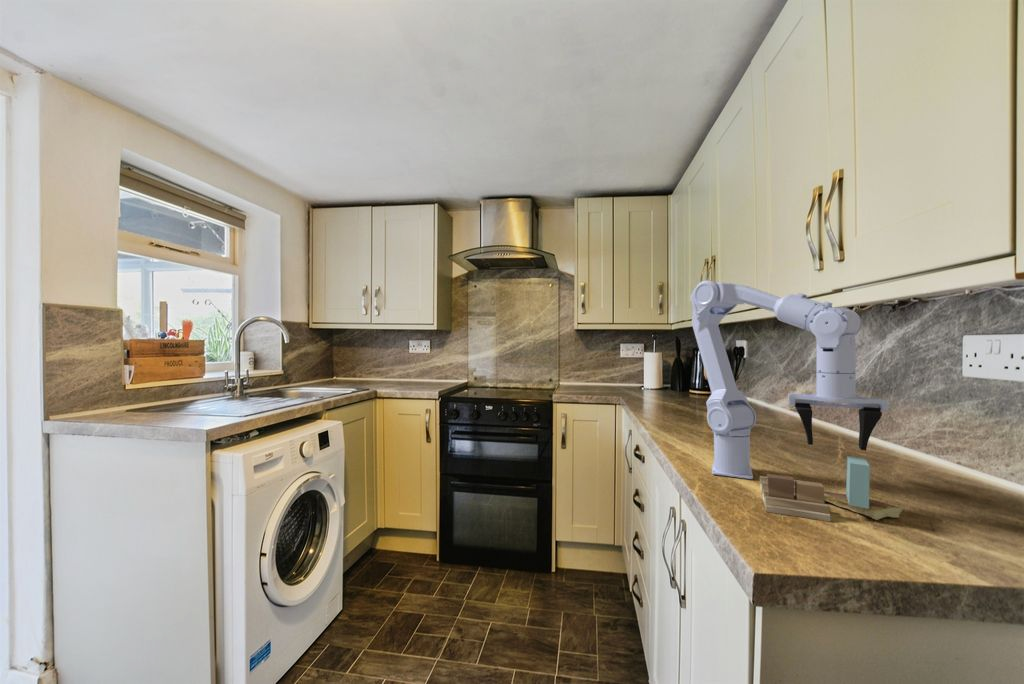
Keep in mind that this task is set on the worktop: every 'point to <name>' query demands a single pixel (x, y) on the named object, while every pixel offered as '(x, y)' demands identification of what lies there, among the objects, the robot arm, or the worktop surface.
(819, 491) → the oak offcut
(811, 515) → the birch rack
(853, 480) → the teal panel
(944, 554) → the worktop surface
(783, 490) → the walnut offcut
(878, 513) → the shard
